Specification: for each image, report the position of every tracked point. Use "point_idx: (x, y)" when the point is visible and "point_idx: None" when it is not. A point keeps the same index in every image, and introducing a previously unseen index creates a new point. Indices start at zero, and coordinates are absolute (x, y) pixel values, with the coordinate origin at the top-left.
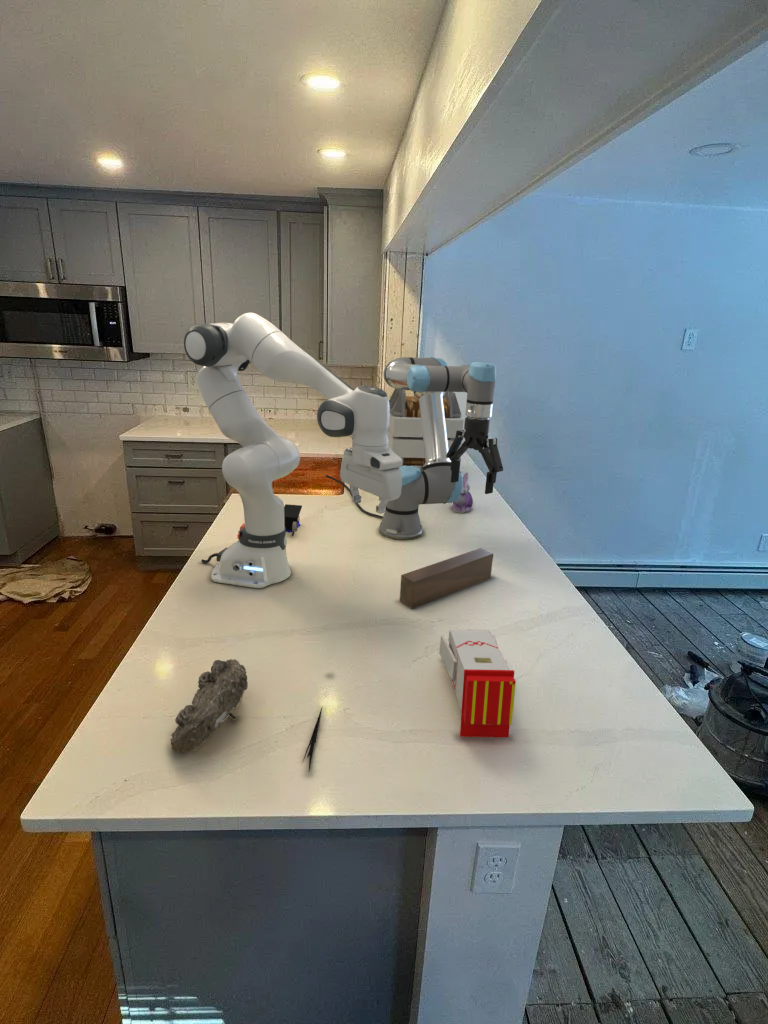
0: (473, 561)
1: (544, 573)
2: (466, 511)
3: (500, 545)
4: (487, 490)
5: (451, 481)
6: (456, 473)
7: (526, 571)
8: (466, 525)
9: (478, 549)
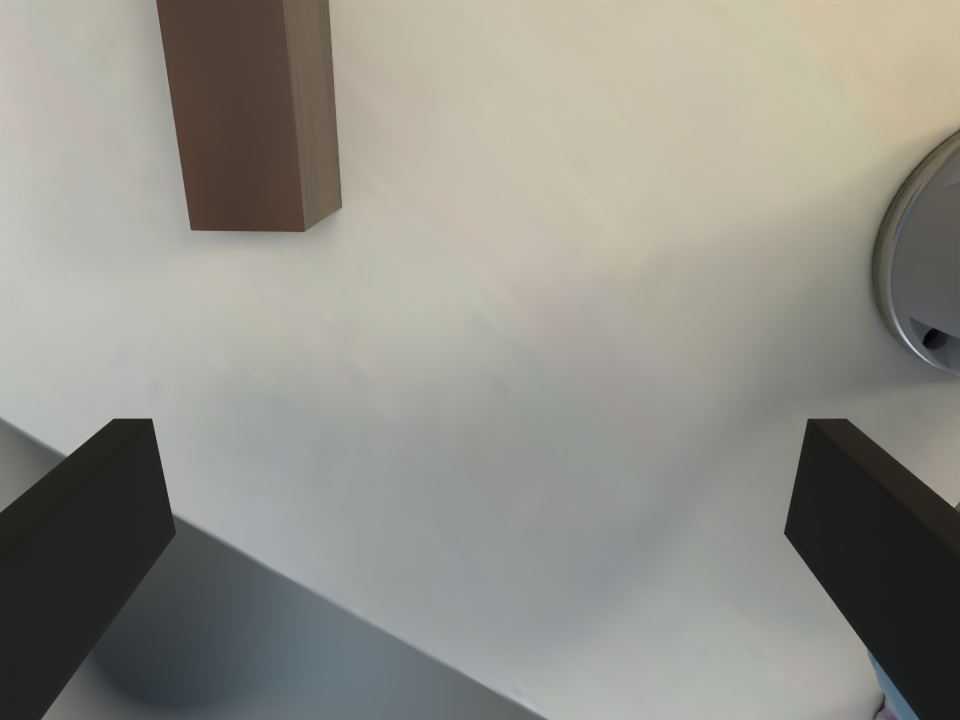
0: (158, 3)
1: (163, 461)
2: (880, 713)
3: (502, 542)
4: (83, 456)
5: (840, 426)
6: (872, 574)
7: (220, 414)
8: (776, 596)
9: (291, 198)
